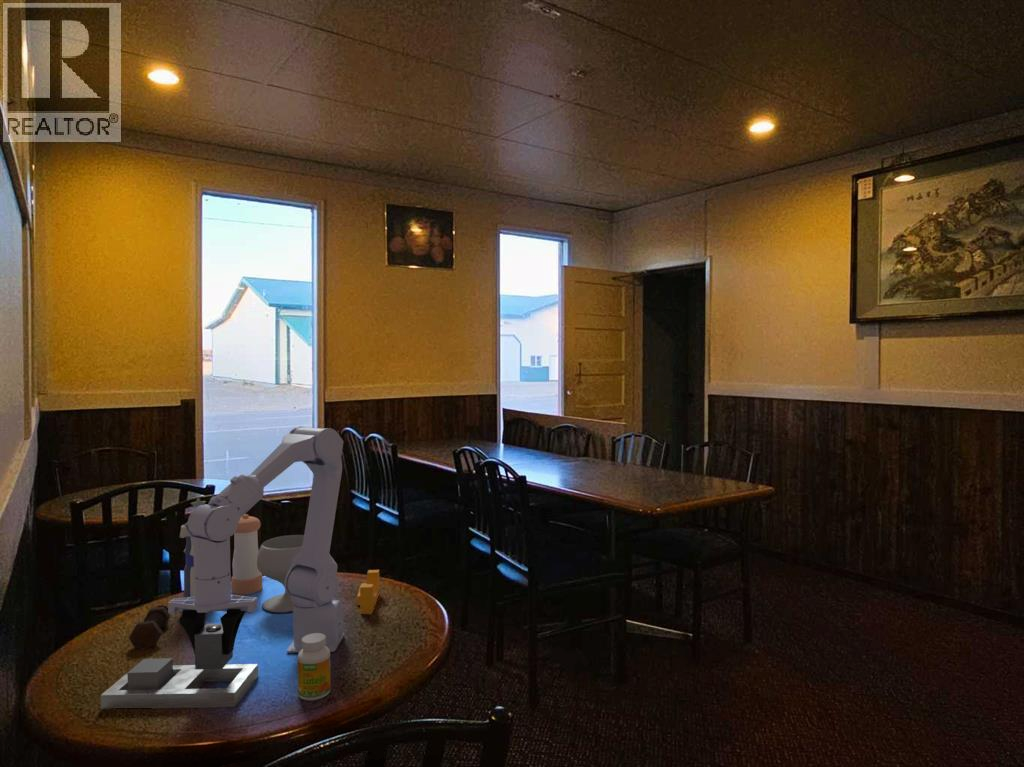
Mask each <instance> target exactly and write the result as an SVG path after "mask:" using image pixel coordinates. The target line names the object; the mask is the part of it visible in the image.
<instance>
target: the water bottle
mask: <svg viewBox="0 0 1024 767" xmlns="http://www.w3.org/2000/svg"><path fill="white" fill-rule="evenodd" d="M206 502H207V500H206V501H205V500H202V501H201V499H200V498H199V497H197V498H196V501H193V502H190V504H191V505H192V506H193V510H194V509H195V508H197V507H198V506H200V505H204V504H206ZM179 538H180V539H185V540H186V541H185V542H186V545H185V549H184V550H183V553H184V554H185V566H184V569H183V598H186V597H194V555H193V545H192V537H191V536H190V535H189V534H188V533H187V531H186V528H185V524H182V525H181V526H180V532H179Z"/></svg>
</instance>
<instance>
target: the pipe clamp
mask: <svg viewBox="0 0 1024 767" xmlns="http://www.w3.org/2000/svg"><path fill="white" fill-rule="evenodd" d="M366 574H367V578H366V582H365V583H364V582H361V583H360V586H359V588H358V592H357V596H356V604H360V615H361V614H362V613H372V612H373V613H374V611H373V609H374V610H375V608H374V606H375V604H376V605H377V603H376V601H377V598H378V596H379V595H378V594H379V593H381V592H380V585H381V584H380V569H368V570H367V573H366ZM379 597H380V596H379ZM378 599H379V598H378ZM377 602H378V601H377ZM375 607H376V606H375Z"/></svg>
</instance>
